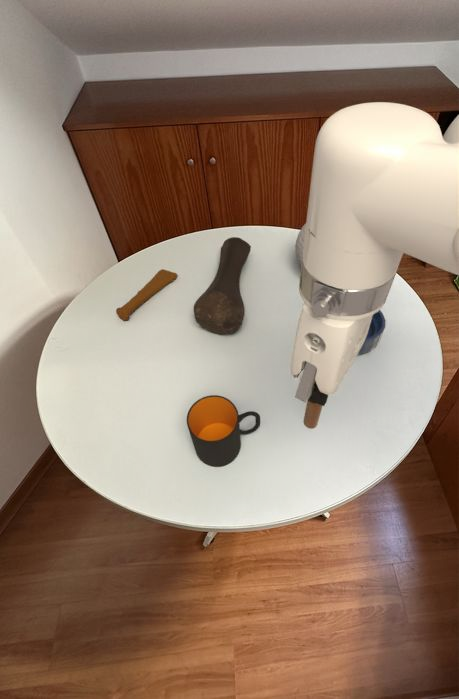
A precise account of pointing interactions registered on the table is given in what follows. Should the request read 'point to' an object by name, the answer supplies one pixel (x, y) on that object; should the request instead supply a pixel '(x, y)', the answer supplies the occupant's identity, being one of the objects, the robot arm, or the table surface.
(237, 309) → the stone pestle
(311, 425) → the stick
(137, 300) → the primitive tool
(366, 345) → the bowl
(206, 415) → the mug
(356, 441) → the table surface
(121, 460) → the table surface
